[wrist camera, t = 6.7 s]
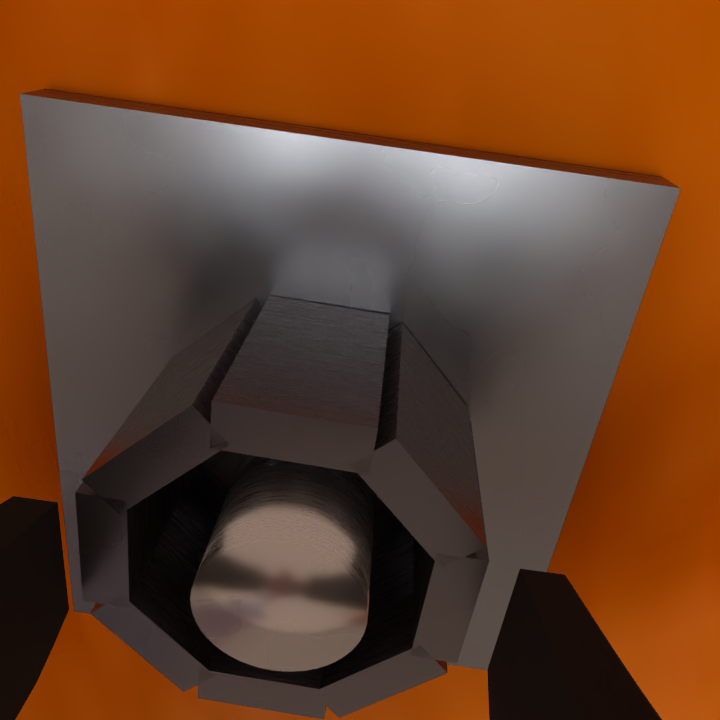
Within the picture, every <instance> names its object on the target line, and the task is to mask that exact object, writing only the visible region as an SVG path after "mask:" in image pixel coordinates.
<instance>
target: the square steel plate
mask: <svg viewBox="0 0 720 720" xmlns="http://www.w3.org/2000/svg"><path fill="white" fill-rule="evenodd" d="M20 99H21V108H22V118H23V128H24V137H25V147H26V156H27V166H28V176H29V185H30V195H31V204H32V214H33V224H34V233H35V243H36V253H37V262H38V272H39V281H40V291H41V301H42V310H43V320H44V330H45V339H46V349H47V358H48V368H49V378H50V387H51V397H52V406H53V416H54V426H55V435H56V445H57V455H58V464H59V474H60V483H61V493H62V503H63V512H64V522H65V532H66V541H67V551H68V560H69V570H70V580H71V589H72V599H73V608H74V611H76V612H83V613H91V611H92V609H93V607H94V605H95V604H96V603H93V602H87V601H83V597H82V583H81V569H80V555H79V541H78V527H77V513H76V499H75V492H76V490H77V489H78V488H79V486H80V485H81V484H82V482H83V481H82V480H81V479H82V478H83V477H84V475H85V474H86V473H87V471H88V470H89V469H90V467H91V466H92V465H93V463H94V462H95V460H96V459H97V458H98V456H99V455H100V454H101V452H102V451H103V450H104V448H105V447H106V446H107V444H108V443H109V442H110V440H111V439H112V438H113V436H114V435H115V433H116V432H117V431H118V429H119V428H120V427H121V425H122V424H123V423H124V421H125V420H126V419H127V417H128V416H129V415H130V413H131V412H132V410H133V409H134V408H135V406H136V405H137V404H138V402H139V401H140V400H141V398H142V397H143V396H144V394H145V393H146V392H147V390H148V389H149V387H150V386H151V385H152V383H153V382H154V381H155V379H156V378H157V377H158V375H159V374H160V373H161V371H162V370H163V369H164V367H165V366H166V364H167V363H168V362H169V360H170V359H172V358H173V357H174V356H176V355H177V354H179V353H180V352H181V351H183V350H184V349H186V348H187V347H188V346H190V345H191V344H192V343H194V342H195V341H197V340H198V339H199V338H201V337H202V336H204V335H205V334H206V333H208V332H209V331H211V330H212V329H213V328H215V327H216V326H218V325H219V324H220V323H222V322H223V321H225V320H226V319H227V318H229V317H230V316H232V315H233V314H234V313H236V312H237V311H238V310H240V309H241V308H243V307H244V306H245V305H247V304H248V303H250V302H251V301H252V300H254V299H256V300H257V301H258V302H259V303H260V305H261V306H262V307H263V306H264V305H265V303H266V301H267V299H268V297H269V296H270V295H271V296H277V297H283V298H289V299H295V300H301V301H307V302H313V303H319V304H325V305H331V306H338V307H344V308H350V309H356V310H362V311H368V312H374V313H380V314H386V315H389V324H388V332H389V331H390V330H392V329H393V328H395V327H396V326H398V325H400V324H401V323H403V324H404V325H405V327H406V328H407V329H408V331H409V332H410V333H411V335H412V336H413V337H414V338H415V340H416V341H417V342H418V344H419V345H420V346H421V348H422V349H423V350H424V351H425V353H426V354H427V355H428V357H429V358H430V359H431V361H432V362H433V363H434V365H435V366H436V367H437V368H438V370H439V371H440V372H441V374H442V375H443V376H444V378H445V379H446V380H447V382H448V383H449V384H450V385H451V387H452V388H453V389H454V391H455V392H456V393H457V395H458V396H459V397H460V398H461V400H462V401H463V402H464V404H465V405H466V406H467V408H468V410H469V418H470V421H471V425H472V433H473V441H474V448H475V456H476V464H477V471H478V479H479V487H480V494H481V502H482V510H483V518H484V525H485V533H486V541H487V548H488V556H489V564H488V567H487V570H486V573H485V576H484V579H483V583H482V586H481V589H480V592H479V595H478V599H477V602H476V605H475V608H474V611H473V614H472V618H471V621H470V624H469V627H468V630H467V633H466V637H465V640H464V643H463V646H462V649H461V653H460V656H459V659H458V662H457V663H452V662H447V664H448V665H455V666H463V667H470V668H477V669H484V670H488V666H489V663H490V660H491V657H492V654H493V651H494V648H495V644H496V641H497V638H498V635H499V632H500V629H501V626H502V623H503V620H504V617H505V613H506V610H507V607H508V604H509V601H510V598H511V595H512V592H513V589H514V586H515V583H516V579H517V576H518V573H519V570H520V569H527V570H534V571H541V572H547V569H548V567H549V564H550V561H551V558H552V555H553V552H554V549H555V546H556V544H557V541H558V538H559V535H560V532H561V529H562V526H563V524H564V521H565V518H566V515H567V512H568V509H569V506H570V503H571V501H572V498H573V495H574V492H575V489H576V486H577V483H578V481H579V478H580V475H581V472H582V469H583V466H584V463H585V461H586V458H587V455H588V452H589V449H590V446H591V443H592V440H593V438H594V435H595V432H596V429H597V426H598V423H599V420H600V418H601V415H602V412H603V409H604V406H605V403H606V400H607V398H608V395H609V392H610V389H611V386H612V383H613V380H614V377H615V375H616V372H617V369H618V366H619V363H620V360H621V357H622V355H623V352H624V349H625V346H626V343H627V340H628V337H629V335H630V332H631V329H632V326H633V323H634V320H635V317H636V314H637V312H638V309H639V306H640V303H641V300H642V297H643V294H644V292H645V289H646V286H647V283H648V280H649V277H650V274H651V271H652V269H653V266H654V263H655V260H656V257H657V254H658V251H659V249H660V246H661V243H662V240H663V237H664V234H665V231H666V229H667V226H668V223H669V220H670V217H671V214H672V211H673V208H674V206H675V203H676V200H677V197H678V194H679V191H680V188H679V187H678V186H676V185H674V184H673V183H671V182H669V181H668V180H666V179H665V178H663V177H658V176H651V175H644V174H637V173H630V172H623V171H616V170H609V169H602V168H595V167H588V166H581V165H574V164H567V163H560V162H553V161H546V160H539V159H532V158H525V157H518V156H511V155H504V154H497V153H490V152H483V151H476V150H469V149H462V148H455V147H448V146H441V145H434V144H427V143H420V142H413V141H406V140H399V139H392V138H385V137H378V136H371V135H364V134H357V133H350V132H343V131H336V130H329V129H322V128H315V127H308V126H301V125H294V124H287V123H280V122H273V121H266V120H259V119H252V118H245V117H238V116H231V115H224V114H217V113H210V112H203V111H196V110H189V109H182V108H175V107H168V106H161V105H154V104H147V103H140V102H133V101H126V100H119V99H112V98H105V97H98V96H91V95H84V94H77V93H70V92H63V91H56V90H49V89H43V90H38V91H33V92H27V93H22V94H20ZM202 464H203V465H204V466H205V467H206V468H207V469H208V470H209V471H210V472H211V473H212V474H213V475H214V476H215V477H216V478H217V479H218V480H219V481H220V482H221V483H222V484H223V485H224V486H225V487H226V488H227V489H228V490H229V491H228V493H227V496H226V498H225V501H224V504H223V506H222V509H221V512H220V514H219V517H218V519H217V522H216V525H215V527H214V530H213V532H212V535H211V538H210V540H209V543H208V546H207V548H206V551H205V553H204V556H203V559H202V561H201V564H200V566H199V569H198V572H197V574H196V577H195V580H194V582H193V586H192V589H191V596H190V602H191V609H192V613H193V616H194V619H195V621H196V623H197V625H198V626H199V628H200V630H201V631H202V632H203V634H204V635H205V636H206V637H207V638H208V639H209V640H210V641H211V642H212V643H213V644H214V645H215V646H216V647H218V648H219V649H220V650H221V651H223V652H224V653H226V654H228V655H229V656H231V657H233V658H235V659H237V660H239V661H241V662H244V663H246V664H249V665H252V666H255V667H259V668H263V669H268V670H274V671H289V672H295V671H306V670H312V669H317V668H320V667H324V666H327V665H329V664H331V663H334V662H336V661H338V660H339V659H341V658H343V657H344V656H346V655H347V654H348V653H350V652H351V651H352V650H353V649H354V648H355V647H356V645H357V644H358V643H359V641H360V640H361V638H362V636H363V634H364V632H365V629H366V626H367V619H368V605H369V590H370V576H371V561H372V546H373V531H374V517H376V516H378V515H380V514H382V513H383V512H385V511H387V510H389V508H388V507H387V506H386V505H385V504H384V502H383V501H382V500H381V499H380V498H379V497H378V496H377V495H376V493H375V492H374V491H373V490H372V489H371V488H370V487H369V485H368V484H367V483H366V482H365V481H364V480H363V479H362V477H361V476H360V475H359V474H358V473H355V472H349V471H343V470H337V469H331V468H325V467H319V466H313V465H307V464H301V463H295V462H289V461H283V460H277V459H271V458H265V457H259V456H253V455H247V454H241V453H235V452H229V451H223V450H221V451H219V452H218V453H216V454H215V455H213V456H211V457H210V458H208V459H207V460H205V461H203V462H202Z"/></svg>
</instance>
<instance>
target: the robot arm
mask: <svg viewBox="0 0 720 720" xmlns="http://www.w3.org/2000/svg"><path fill="white" fill-rule="evenodd" d="M68 610H69V605H68V596H67V587H66V578H65V569H64V559H63V550H62V541H61V532H60V522H59V513H58V504H57V502H50V501H43V500H36V499H29V498H22V497H15V496H13V497H11V498H10V499H8V500H7V501H5V502H4V503H2V504H0V720H15V719H16V717H17V715H18V714H19V712H20V710H21V709H22V707H23V705H24V703H25V702H26V700H27V698H28V696H29V695H30V693H31V691H32V689H33V688H34V686H35V684H36V682H37V680H38V678H39V676H40V674H41V671H42V669H43V667H44V665H45V663H46V661H47V658H48V656H49V654H50V652H51V650H52V647H53V645H54V643H55V640H56V638H57V636H58V633H59V631H60V629H61V626H62V624H63V622H64V619H65V617H66V615H67V612H68ZM488 691H489V715H490V720H662V719H661V718H660V716H659V715H658V714H657V712H656V711H655V709H654V708H653V707H652V705H651V704H650V702H649V701H648V699H647V698H646V697H645V695H644V694H643V692H642V691H641V689H640V688H639V687H638V685H637V684H636V682H635V681H634V679H633V678H632V676H631V675H630V673H629V672H628V670H627V669H626V667H625V666H624V664H623V663H622V661H621V660H620V658H619V657H618V655H617V654H616V652H615V651H614V649H613V648H612V646H611V645H610V643H609V642H608V640H607V639H606V637H605V636H604V634H603V633H602V631H601V630H600V628H599V626H598V625H597V623H596V622H595V620H594V619H593V617H592V616H591V614H590V613H589V611H588V609H587V608H586V606H585V605H584V603H583V602H582V600H581V599H580V597H579V596H578V594H577V593H576V591H575V589H574V588H573V586H572V585H571V583H570V582H569V581H568V579H567V578H566V576H565V575H562V574H555V573H548V572H541V571H534V570H527V569H520V570H519V573H518V576H517V579H516V583H515V586H514V589H513V592H512V595H511V598H510V601H509V604H508V607H507V610H506V613H505V617H504V620H503V623H502V626H501V629H500V632H499V635H498V638H497V641H496V644H495V648H494V651H493V654H492V657H491V660H490V663H489V666H488Z"/></svg>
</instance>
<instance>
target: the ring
mask: <svg viewBox="0 0 720 720" xmlns="http://www.w3.org/2000/svg"><path fill="white" fill-rule="evenodd" d="M388 324H389V315H386V314H380V313H374V312H368V311H362V310H356V309H350V308H344V307H338V306H331V305H325V304H319V303H313V302H307V301H301V300H295V299H289V298H283V297H277V296H271V295H270V296H269V297H268V299H267V301H266V303H265V305H264V306H263V307H262V306H261V305H260V303H259V302H258V301H257V300H256V299H254V300H252V301H251V302H250V303H248V304H247V305H245V306H244V307H243V308H241V309H240V310H238V311H237V312H236V313H234V314H233V315H232V316H230V317H229V318H227V319H226V320H225V321H223V322H222V323H220V324H219V325H218V326H216V327H215V328H213V329H212V330H211V331H209V332H208V333H206V334H205V335H204V336H202V337H201V338H199V339H198V340H197V341H195V342H194V343H192V344H191V345H190V346H188V347H187V348H186V349H184V350H183V351H181V352H180V353H179V354H177V355H176V356H174V357H173V358H172V359H170V360H169V362H168V363H167V364H166V366H165V367H164V369H163V370H162V371H161V373H160V374H159V375H158V377H157V378H156V379H155V381H154V382H153V383H152V385H151V386H150V387H149V389H148V390H147V392H146V393H145V394H144V396H143V397H142V398H141V400H140V401H139V402H138V404H137V405H136V406H135V408H134V409H133V410H132V412H131V413H130V415H129V416H128V417H127V419H126V420H125V421H124V423H123V424H122V425H121V427H120V428H119V429H118V431H117V432H116V433H115V435H114V436H113V438H112V439H111V440H110V442H109V443H108V444H107V446H106V447H105V448H104V450H103V451H102V452H101V454H100V455H99V456H98V458H97V459H96V460H95V462H94V463H93V465H92V466H91V467H90V469H89V470H88V471H87V473H86V474H85V475H84V477H83V478H82V479H81V480H82V481H83V482H82V484H81V485H80V486H79V488H78V489H77V490H76V492H75V499H76V513H77V527H78V541H79V555H80V569H81V583H82V597H83V601H87V602H93V603H96V604H95V605H94V607H93V609H92V611H91V613H90V614H92V615H93V616H94V617H95V618H96V619H98V620H99V621H100V622H101V623H102V624H104V625H105V626H106V627H107V628H108V629H110V630H111V631H112V632H113V633H114V634H115V635H117V636H118V637H119V638H120V639H121V640H123V641H124V642H125V643H126V644H127V645H129V646H130V647H131V648H132V649H133V650H135V651H136V652H137V653H138V654H139V655H140V656H142V657H143V658H144V659H145V660H146V661H148V662H149V663H150V664H151V665H152V666H154V667H155V668H156V669H157V670H158V671H160V672H161V673H162V674H163V675H164V676H165V677H167V678H168V679H169V680H170V681H171V682H173V683H174V684H175V685H176V686H177V687H179V688H180V689H181V690H182V691H183V692H184V691H186V690H188V689H190V688H192V687H194V686H196V685H198V684H199V686H198V698H201V699H207V700H213V701H219V702H225V703H230V704H236V705H242V706H248V707H254V708H260V709H266V710H272V711H278V712H284V713H290V714H296V715H302V716H308V717H314V718H320V719H324V715H325V710H326V706H327V707H328V708H329V709H330V710H331V711H333V712H334V713H335V714H336V715H337V716H338V717H339V718H340V717H342V716H345V715H347V714H349V713H352V712H354V711H357V710H359V709H361V708H364V707H366V706H369V705H371V704H374V703H376V702H378V701H381V700H383V699H386V698H388V697H390V696H393V695H395V694H398V693H400V692H402V691H405V690H407V689H410V688H412V687H414V686H417V685H419V684H422V683H424V682H427V681H429V680H431V679H434V678H436V677H439V676H441V675H443V674H446V673H447V662H452V663H457V662H458V659H459V656H460V653H461V649H462V646H463V643H464V640H465V637H466V633H467V630H468V627H469V624H470V621H471V618H472V614H473V611H474V608H475V605H476V602H477V599H478V595H479V592H480V589H481V586H482V583H483V579H484V576H485V573H486V570H487V567H488V564H489V556H488V548H487V541H486V533H485V525H484V518H483V510H482V502H481V494H480V487H479V479H478V471H477V464H476V456H475V448H474V441H473V433H472V425H471V421H470V418H469V410H468V408H467V406H466V405H465V404H464V402H463V401H462V400H461V398H460V397H459V396H458V395H457V393H456V392H455V391H454V389H453V388H452V387H451V385H450V384H449V383H448V382H447V380H446V379H445V378H444V376H443V375H442V374H441V372H440V371H439V370H438V368H437V367H436V366H435V365H434V363H433V362H432V361H431V359H430V358H429V357H428V355H427V354H426V353H425V351H424V350H423V349H422V348H421V346H420V345H419V344H418V342H417V341H416V340H415V338H414V337H413V336H412V335H411V333H410V332H409V331H408V329H407V328H406V327H405V325H404V324H403V323H401V324H400V325H398V326H396V327H395V328H393V329H392V330H390V331H389V332H388ZM221 450H223V451H229V452H235V453H241V454H247V455H253V456H259V457H265V458H271V459H277V460H283V461H289V462H295V463H301V464H307V465H313V466H319V467H325V468H331V469H337V470H343V471H349V472H355V473H358V474H359V475H360V476H361V477H362V479H363V480H364V481H365V482H366V483H367V484H368V485H369V487H370V488H371V489H372V490H373V491H374V492H375V493H376V495H377V496H378V497H379V498H380V499H381V500H382V501H383V502H384V504H385V505H386V506H387V507H388V508H389V510H387V511H385V512H383V513H382V514H380V515H378V516H376V517H374V531H373V546H372V561H371V576H370V590H369V605H368V619H367V626H366V629H365V632H364V634H363V636H362V638H361V640H360V641H359V643H358V644H357V645H356V647H355V648H354V649H353V650H352V651H351V652H350V653H348V654H347V655H346V656H344V657H343V658H341V659H339V660H338V661H336V662H334V663H331V664H329V665H327V666H324V667H320V668H317V669H312V670H306V671H295V672H289V671H274V670H268V669H263V668H259V667H255V666H252V665H249V664H246V663H244V662H241V661H239V660H237V659H235V658H233V657H231V656H229V655H228V654H226V653H224V652H223V651H221V650H220V649H219V648H218V647H216V646H215V645H214V644H213V643H212V642H211V641H210V640H209V639H208V638H207V637H206V636H205V635H204V634H203V632H202V631H201V630H200V628H199V626H198V625H197V623H196V621H195V619H194V616H193V613H192V609H191V602H190V596H191V589H192V586H193V582H194V580H195V577H196V574H197V572H198V569H199V566H200V564H201V561H202V559H203V556H204V553H205V551H206V548H207V546H208V543H209V540H210V538H211V535H212V532H213V530H214V527H215V525H216V522H217V519H218V517H219V514H220V512H221V509H222V506H223V504H224V501H225V498H226V496H227V493H228V491H229V490H228V489H227V488H226V487H225V486H224V485H223V484H222V483H221V482H220V481H219V480H218V479H217V478H216V477H215V476H214V475H213V474H212V473H211V472H210V471H209V470H208V469H207V468H206V467H205V466H204V465H203V464H202V462H203V461H205V460H207V459H208V458H210V457H211V456H213V455H215V454H216V453H218V452H219V451H221Z"/></svg>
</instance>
